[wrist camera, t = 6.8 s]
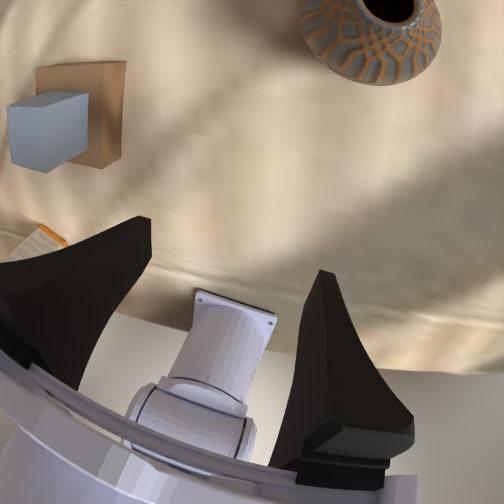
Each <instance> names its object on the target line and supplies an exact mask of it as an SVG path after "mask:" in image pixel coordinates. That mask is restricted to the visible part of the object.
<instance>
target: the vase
mask: <svg viewBox="0 0 504 504" xmlns="http://www.w3.org/2000/svg"><path fill="white" fill-rule="evenodd" d="M297 19H298V24H299V28H300V31H301V34H302V36H303V39H304V41H305V42H306V44H307V46H308V47H309V49H310V50H311V52H312V53H313V54H314V55H315V56H316V58H317V59H318V60H319V61H320V62H321V63H323V64H324V65H325V66H326V67H328V68H329V69H330V70H332V71H333V72H335V73H337V74H338V75H340V76H342V77H344V78H346V79H349V80H351V81H354V82H358V83H362V84H366V85H375V86H387V85H395V84H399V83H403V82H405V81H408V80H410V79H412V78H414V77H416V76H417V75H419V74H420V73H422V72H423V71H424V70H425V69H426V68H427V67H428V66H429V65H430V64H431V62H432V61H433V59H434V58H435V56H436V54H437V52H438V49H439V46H440V42H441V35H442V26H441V19H440V15H439V12H438V9H437V7H436V4H435V2H434V0H298V5H297Z"/></svg>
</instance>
